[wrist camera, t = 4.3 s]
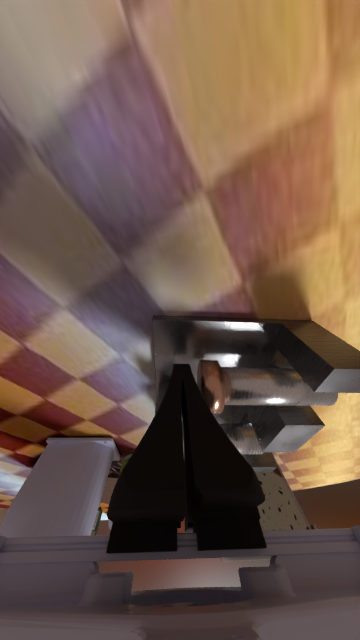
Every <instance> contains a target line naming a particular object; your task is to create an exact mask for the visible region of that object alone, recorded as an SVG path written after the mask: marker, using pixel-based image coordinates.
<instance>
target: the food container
mask: <svg viewBox="0 0 360 640" xmlns="http://www.w3.org/2000/svg"><path fill="white" fill-rule="evenodd" d="M271 453H272V452H271ZM272 456H273V454H272ZM273 458H274V456H273ZM274 460H275V458H274ZM275 463H276V465H277V468H276V469H275V470H273V471H272V472H271V473H256V476H257V478H258V480H259V482H260V485H261V487H262V490H263V493H264V496H265V501H264V502H263V503H262V504H261V505H259V506H257V507H258V510H259V513H260V518H261V519H259V521H260V525H261V528H262V531H273V530H309V529H316V526H315V525H314V524H313V525H309V523H308V521H307V519H306V518H305V516H304V514H303V512H302V510H301V508H300V506H299V504H298V502H297V500H296V498H295V497H294V495H293V492H292V491H291V489H290V487H289V485H288V483H287V481H286V479H285V477H284V475H283V473H282V471H281V469H280V467H279V466H278V464H277V462H276V460H275ZM271 557H272V556H253V557H224V558H221V561H239V560H268V559H270V558H271Z"/></svg>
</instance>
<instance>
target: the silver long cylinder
mask: <svg viewBox="0 0 360 640" xmlns="http://www.w3.org/2000/svg"><path fill="white" fill-rule="evenodd" d="M219 425H220V426H221V427H222V429H223V430H224V432H225V433H226V435H227V436H228V437H229V439H230V440H231V441H232V443H233V444H234V445H235V447H236V448H237V449H238V451H239V452H240V453H241V454H263V453H264V452H262V450H261V447H260V445H259V442H258V439H257V437H256V434H255V432H254V429H253V427H252V424H251V423H219ZM182 431H183V419H182ZM183 450H184V432H183Z"/></svg>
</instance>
